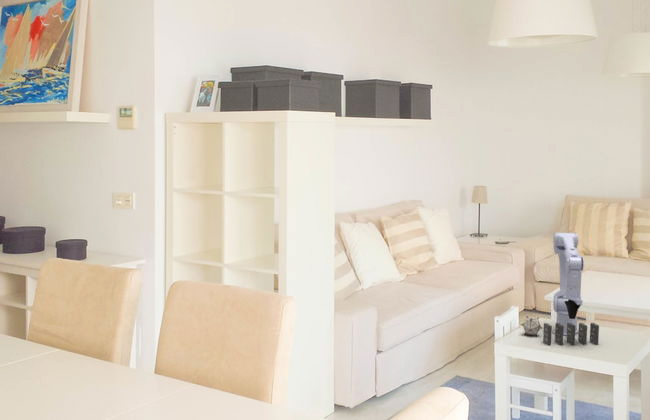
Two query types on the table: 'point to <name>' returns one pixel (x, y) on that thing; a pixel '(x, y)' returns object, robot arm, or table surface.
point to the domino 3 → (570, 334)
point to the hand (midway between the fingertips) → (572, 318)
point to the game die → (531, 326)
